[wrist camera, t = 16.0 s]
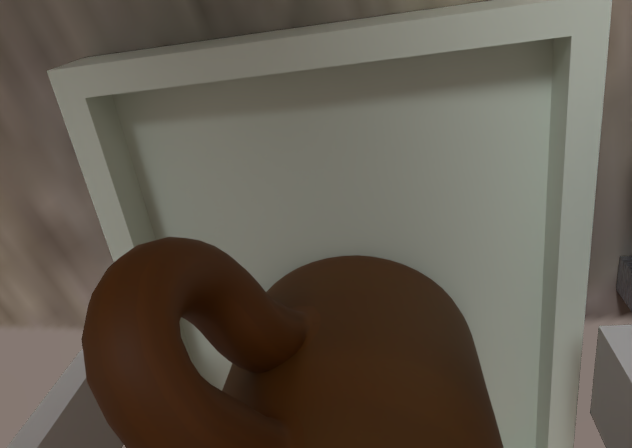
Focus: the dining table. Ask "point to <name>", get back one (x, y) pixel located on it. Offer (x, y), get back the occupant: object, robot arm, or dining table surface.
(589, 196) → the tray
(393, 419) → the mug
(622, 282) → the gray bench
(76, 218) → the dining table surface
